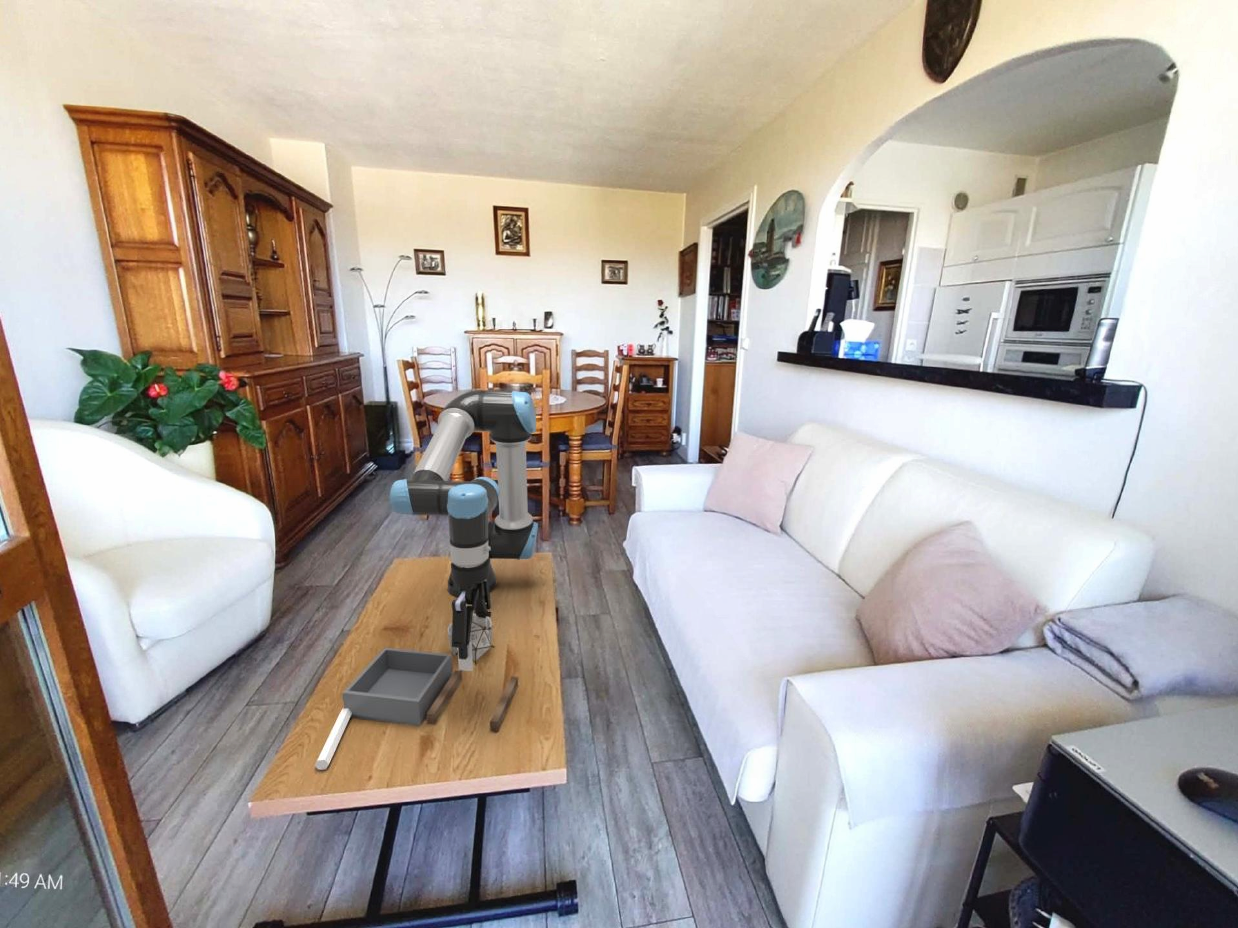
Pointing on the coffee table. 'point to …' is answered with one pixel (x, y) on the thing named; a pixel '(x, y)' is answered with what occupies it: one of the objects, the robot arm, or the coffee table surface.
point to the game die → (479, 641)
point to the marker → (333, 739)
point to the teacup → (489, 622)
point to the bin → (398, 686)
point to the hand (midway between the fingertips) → (473, 655)
